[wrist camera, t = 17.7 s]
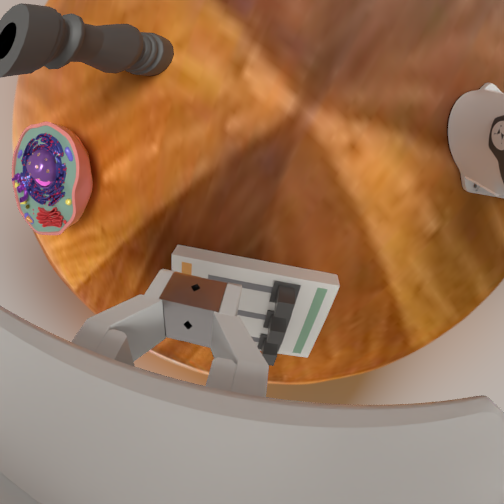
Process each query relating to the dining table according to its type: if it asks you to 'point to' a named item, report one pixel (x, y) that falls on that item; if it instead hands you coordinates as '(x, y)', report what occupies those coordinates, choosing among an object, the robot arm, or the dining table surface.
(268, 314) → the breaker
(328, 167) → the dining table surface
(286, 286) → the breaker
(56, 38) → the candle holder
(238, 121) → the dining table surface
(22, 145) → the cell model
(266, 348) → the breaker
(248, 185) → the dining table surface
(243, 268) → the panel
